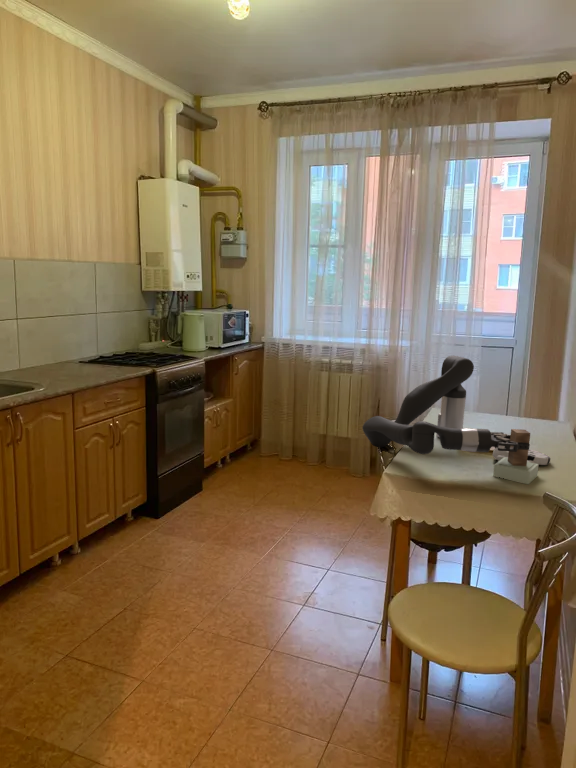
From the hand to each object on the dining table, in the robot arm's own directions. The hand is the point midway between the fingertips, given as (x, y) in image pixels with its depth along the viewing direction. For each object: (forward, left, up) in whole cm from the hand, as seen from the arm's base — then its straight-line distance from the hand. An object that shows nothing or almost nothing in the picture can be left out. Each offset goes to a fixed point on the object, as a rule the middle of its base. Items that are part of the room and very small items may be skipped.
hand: (523, 442), depth 185 cm
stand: (-1, -1, -11) cm, 12 cm away
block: (-1, -1, -7) cm, 7 cm away
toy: (-5, +17, -12) cm, 22 cm away
